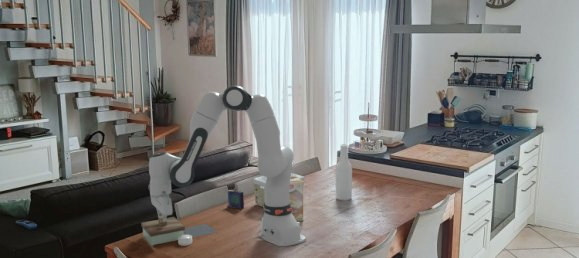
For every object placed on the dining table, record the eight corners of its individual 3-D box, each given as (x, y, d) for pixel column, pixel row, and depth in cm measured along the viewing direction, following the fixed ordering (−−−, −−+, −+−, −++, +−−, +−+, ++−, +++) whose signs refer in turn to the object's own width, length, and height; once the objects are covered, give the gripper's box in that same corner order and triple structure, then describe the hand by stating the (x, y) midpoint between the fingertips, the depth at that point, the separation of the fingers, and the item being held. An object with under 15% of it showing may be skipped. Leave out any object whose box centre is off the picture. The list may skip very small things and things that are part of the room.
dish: (183, 240, 228) (183, 229, 227) (151, 247, 221) (151, 236, 221) (173, 231, 240) (173, 220, 239) (143, 236, 233) (142, 226, 232)
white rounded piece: (194, 245, 222) (194, 238, 222) (180, 248, 219) (180, 240, 219) (189, 241, 228) (189, 233, 227) (176, 244, 225) (175, 236, 224)
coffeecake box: (273, 223, 249) (273, 184, 245) (270, 219, 255) (269, 180, 252) (303, 220, 252) (303, 181, 249) (299, 216, 259) (299, 177, 256)
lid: (184, 230, 227) (184, 218, 226) (150, 236, 220) (149, 224, 219) (174, 220, 240) (173, 209, 239) (141, 226, 233) (140, 214, 232)
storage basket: (287, 196, 293) (286, 170, 291) (306, 202, 281) (305, 176, 278) (252, 204, 278) (251, 178, 276) (270, 212, 266) (270, 184, 263)
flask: (227, 207, 275) (226, 187, 273) (230, 205, 277) (229, 185, 276) (242, 209, 271) (242, 189, 269) (245, 207, 273) (244, 187, 272)
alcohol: (351, 196, 291) (352, 143, 287) (351, 200, 283) (352, 146, 278) (335, 195, 292) (336, 143, 287) (335, 200, 284) (335, 146, 279)
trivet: (217, 234, 235) (217, 232, 235) (189, 240, 229) (189, 237, 229) (206, 225, 247) (206, 223, 246) (180, 231, 240) (180, 228, 240)
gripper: (175, 193, 220) (176, 225, 222) (161, 182, 237) (162, 212, 239) (160, 196, 217) (162, 228, 219) (147, 184, 234) (149, 214, 236)
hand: (162, 219), depth 229 cm, fingers open, 4 cm apart
